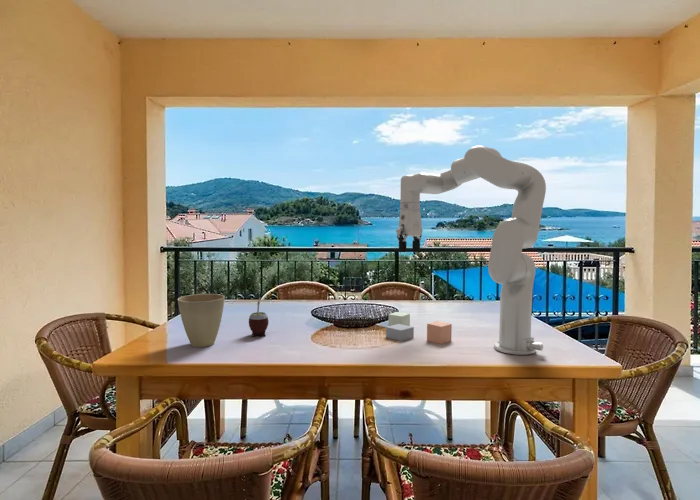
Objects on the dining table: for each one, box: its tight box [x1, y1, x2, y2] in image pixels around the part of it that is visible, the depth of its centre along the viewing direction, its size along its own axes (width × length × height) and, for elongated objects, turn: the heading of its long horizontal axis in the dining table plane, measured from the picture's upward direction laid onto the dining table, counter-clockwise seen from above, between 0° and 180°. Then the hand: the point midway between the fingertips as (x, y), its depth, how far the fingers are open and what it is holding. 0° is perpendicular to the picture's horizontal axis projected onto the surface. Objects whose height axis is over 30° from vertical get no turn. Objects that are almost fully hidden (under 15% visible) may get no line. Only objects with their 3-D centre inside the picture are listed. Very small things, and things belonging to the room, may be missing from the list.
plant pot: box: [177, 293, 225, 348], centre depth 144 cm, size 15×15×16 cm
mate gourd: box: [248, 296, 269, 338], centre depth 155 cm, size 8×8×15 cm
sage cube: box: [387, 311, 411, 327], centre depth 166 cm, size 6×6×6 cm
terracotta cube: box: [426, 320, 453, 345], centre depth 150 cm, size 6×6×6 cm
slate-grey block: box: [385, 324, 415, 342], centre depth 154 cm, size 7×7×4 cm
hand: (409, 251), depth 169 cm, fingers open, 9 cm apart
